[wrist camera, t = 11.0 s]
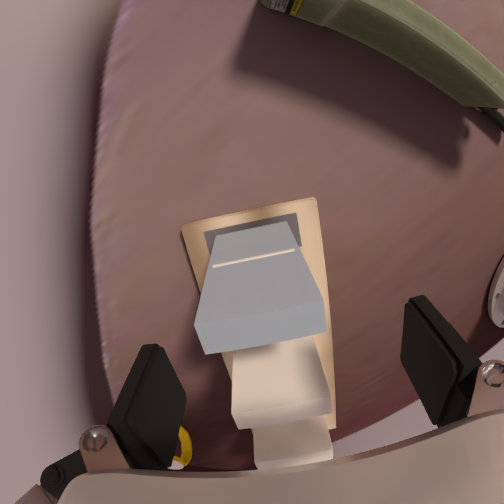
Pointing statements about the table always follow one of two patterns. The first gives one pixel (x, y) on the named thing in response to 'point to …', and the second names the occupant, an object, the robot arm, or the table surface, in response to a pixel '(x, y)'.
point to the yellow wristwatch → (183, 450)
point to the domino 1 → (257, 291)
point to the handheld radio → (411, 45)
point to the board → (309, 241)
